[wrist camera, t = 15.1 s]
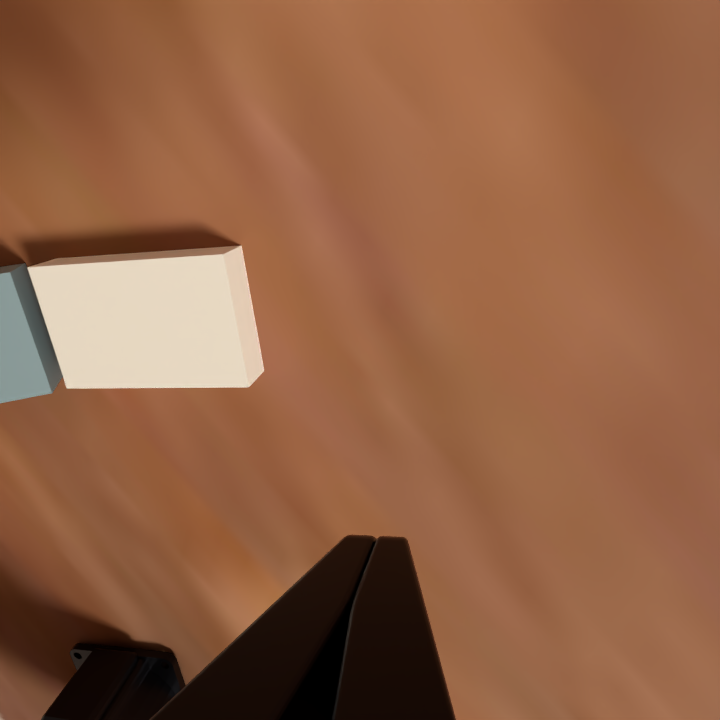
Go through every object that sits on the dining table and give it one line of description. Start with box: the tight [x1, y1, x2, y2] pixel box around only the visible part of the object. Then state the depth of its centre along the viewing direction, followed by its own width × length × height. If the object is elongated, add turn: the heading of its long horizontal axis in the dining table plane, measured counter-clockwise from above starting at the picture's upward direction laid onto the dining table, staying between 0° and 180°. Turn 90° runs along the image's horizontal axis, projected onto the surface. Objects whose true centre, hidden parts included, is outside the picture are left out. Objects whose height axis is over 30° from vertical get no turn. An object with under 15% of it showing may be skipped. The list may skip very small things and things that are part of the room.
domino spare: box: [27, 246, 264, 388], centre depth 22 cm, size 2×5×8 cm
